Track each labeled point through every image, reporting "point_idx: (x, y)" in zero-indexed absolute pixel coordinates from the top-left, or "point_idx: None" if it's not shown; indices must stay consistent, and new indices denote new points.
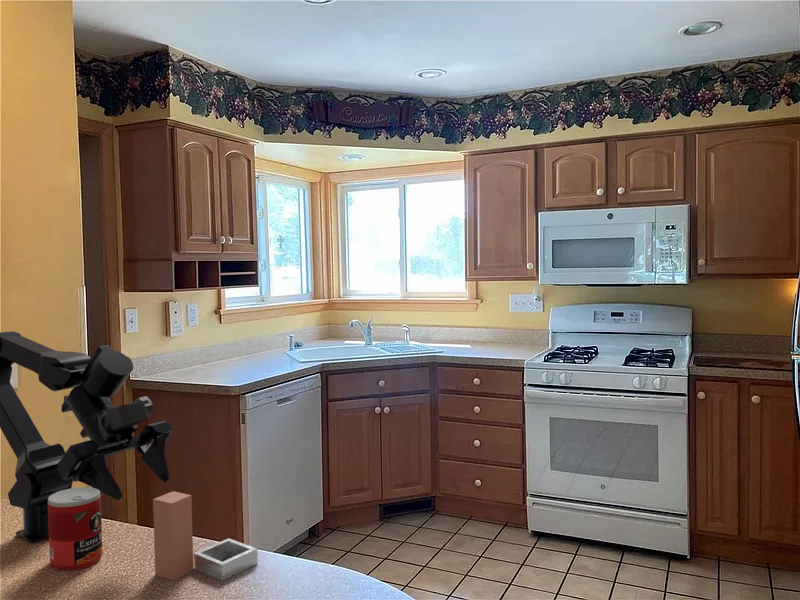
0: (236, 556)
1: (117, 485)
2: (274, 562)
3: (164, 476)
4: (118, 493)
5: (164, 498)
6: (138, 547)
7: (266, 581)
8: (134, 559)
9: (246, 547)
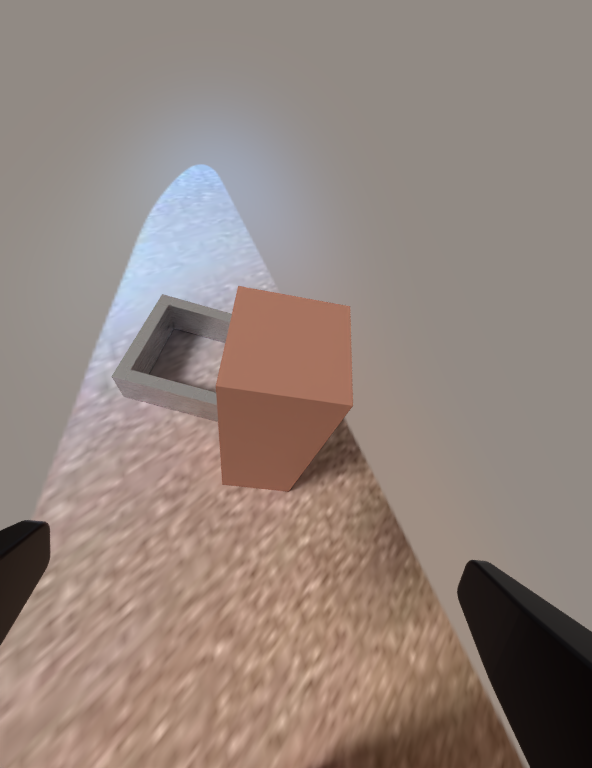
0: (212, 314)
1: (545, 625)
2: (152, 295)
3: (18, 568)
4: (510, 580)
5: (320, 363)
6: (133, 738)
7: (231, 281)
8: (230, 644)
9: (161, 315)
